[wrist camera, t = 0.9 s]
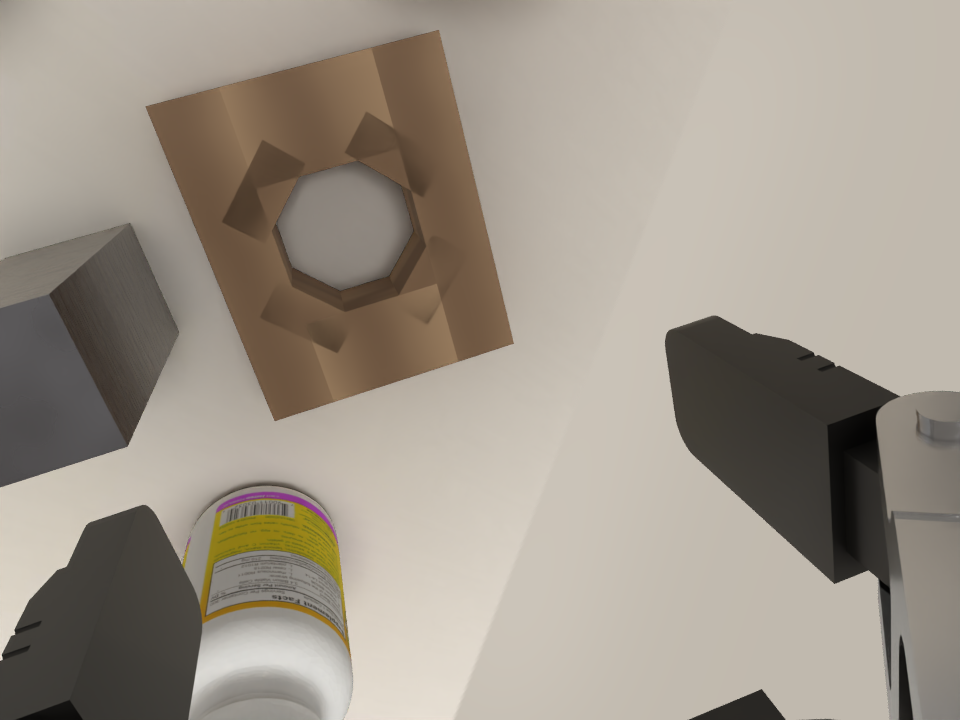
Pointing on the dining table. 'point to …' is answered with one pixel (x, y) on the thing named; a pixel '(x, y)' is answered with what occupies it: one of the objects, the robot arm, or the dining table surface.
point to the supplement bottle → (269, 610)
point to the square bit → (77, 350)
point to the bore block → (322, 145)
